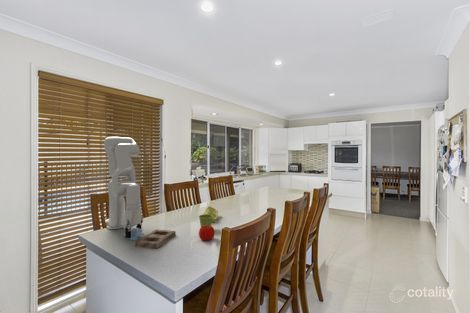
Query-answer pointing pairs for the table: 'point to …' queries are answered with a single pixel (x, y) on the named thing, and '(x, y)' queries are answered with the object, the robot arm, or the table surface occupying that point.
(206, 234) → the tomato
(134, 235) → the light blue drawer box
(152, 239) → the tray
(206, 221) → the plant pot
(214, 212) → the plastic component
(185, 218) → the table surface
